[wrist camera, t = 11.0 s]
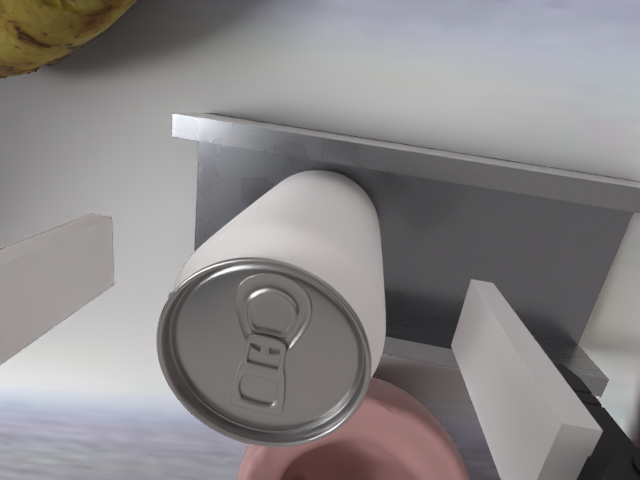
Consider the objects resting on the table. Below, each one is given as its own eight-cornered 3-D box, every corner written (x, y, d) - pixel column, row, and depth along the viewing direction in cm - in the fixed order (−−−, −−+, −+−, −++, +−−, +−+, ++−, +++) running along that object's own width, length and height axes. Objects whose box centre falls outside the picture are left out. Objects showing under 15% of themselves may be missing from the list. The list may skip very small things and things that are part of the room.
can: (393, 182, 20) (420, 275, 9) (365, 293, 22) (358, 485, 11) (270, 156, 20) (143, 214, 9) (254, 268, 23) (136, 428, 11)
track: (199, 280, 24) (168, 311, 21) (207, 113, 21) (172, 113, 17) (563, 349, 23) (601, 396, 19) (632, 180, 20) (694, 196, 16)
